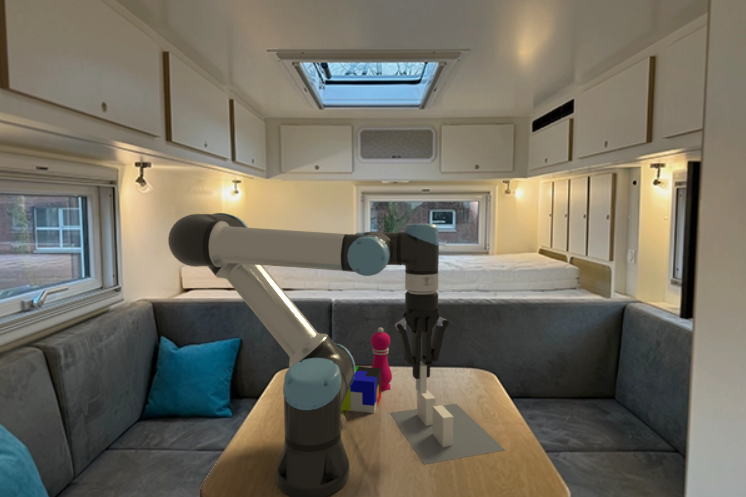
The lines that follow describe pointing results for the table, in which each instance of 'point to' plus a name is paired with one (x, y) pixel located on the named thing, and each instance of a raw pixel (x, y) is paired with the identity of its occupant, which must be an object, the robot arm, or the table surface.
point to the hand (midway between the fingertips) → (421, 391)
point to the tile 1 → (425, 407)
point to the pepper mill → (381, 357)
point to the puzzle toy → (363, 391)
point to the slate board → (465, 436)
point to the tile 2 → (442, 426)
